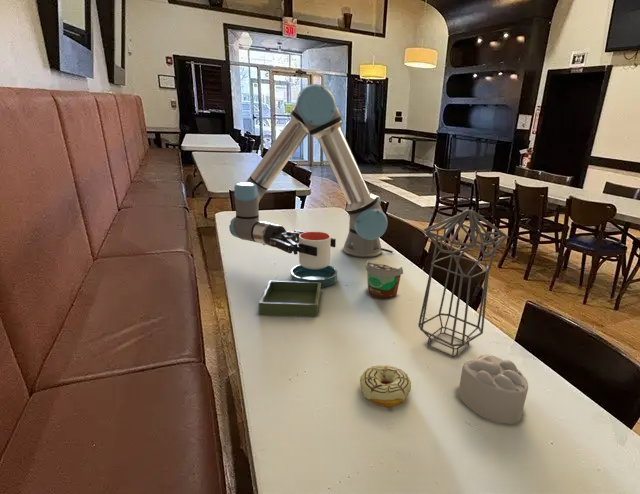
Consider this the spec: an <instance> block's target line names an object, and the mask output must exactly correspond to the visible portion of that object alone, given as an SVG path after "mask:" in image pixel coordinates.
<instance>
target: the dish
mask: <svg viewBox="0 0 640 494" xmlns="http://www.w3.org/2000/svg"><path fill="white" fill-rule="evenodd" d="M289 273H290V281H297V282H321V288H325V287H326V288H327V287H329V286H331V285H333V284H335V283H336V282H337V281H338V269H337V268H336V267H335V266H332V265H330V264H329V265H328V266H327V267H325V268H322V269H308V268H305V267H303V266H301V265H300V264H298V265H295V266H293V267H292V268H291V269H290V272H289Z"/></svg>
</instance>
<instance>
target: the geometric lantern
mask: <svg viewBox="0 0 640 494" xmlns="http://www.w3.org/2000/svg"><path fill="white" fill-rule="evenodd" d="M466 217H468V222H469V225H467V224H464V222H465V219H466ZM481 222H482V223H484V224H485V225H487V226H489V228H491V229H493V230H494V231H495V232H494V231H488V230H486V228H485V227H484V225H483V224H482V223H481ZM457 225H458V227H457V228H456V231H455V232H454V234H453V236H452V238H449V237H447V236H448V235H449V234H450V232H451V231H452V230H453V229H455V227H456V226H457ZM461 229H462V231H463V232H464V233H465V235H467V236H468V237H469V238H470V240H471V241H470V243H464V242H459V241H455V240H456V238H457V236H458V235H459V232H460V230H461ZM467 229H469V230H470V232H469V231H468V230H467ZM442 230H443V234H442V235H440V234H439V232H440V231H442ZM434 232H436V233H434ZM422 233H423V234H425V235H426V236H427V237H428V239H429V240H430V241H431V242H432V243H433V244H434V251H433V256H432V260H431V262H430V270H429V274H428V278H427V283H426V287H425V291H424V296H423V297H424V298H423V302H422V306H421V310H420V315H419V319H418V324H417V327H418V329H419V330H420V331H421V332H422V333H423V334H424V335H425V336H426V337H427V338H428V339H427V344H426V345H427V346H428V347H429V348H431V349H434V350H436V351H438V352H439V353H442V354H445V355H447V356H448V357H450V358H457V357H459V355H461V354H462V353H463V352H464V351H465V350H467V348H468V347H469V346H470V343H471V342H472V341H473V340H476V339H477V338H478V337H480V336H481V335H483V333H484V327H485V318H486V317H485V315H486V306H487V298H488V297H487V296H488V288H489V287H488V286H489V276H490V270H491V268H492V265H493V259H494V256H495V254H496V251H497V249H498V248H499V247H501V245H502V244H503V243H504V242H505V241H506V240H507V239H509V238H510V236H509V235H507V234H506V233H505V232H504V231H502V230H501V229H499V228H498V227H497V226H495V225H494V224H492V223H491V222H490V221H489V220H487V219H485V217H484V216H482V215H481V214H479V213H478V212H476V211H475V210H473V209H465V210H464V211H462V212H460V213H458V214H455V215H453V216H451V217H448V218H446V219H444V220H441V221H439V222H437V223H434V224H433V225H430V226H428V227H425V228H423V229H422ZM491 235H493V236H494V235H495V237H492V236H491ZM478 237H479V239H480V240H478ZM488 239H489V240H488ZM446 241H447V242H449V243H450V247H449V245H448V243H447V242H446ZM439 242H440V244H439ZM443 242H444V245H445V246H446V248H447V249H446V250H445V249H443ZM477 244H478V245H479V246H477ZM453 245H458V246H463V247H462V248H459V249H456V250H453ZM493 245H494V248H492V250H491V251H490V248H491V246H493ZM485 247H487V250H486V251H487V252H486V251H485ZM473 248H475V249H480V250H481V252H482V255H481V256H480V257H479V258H478V259H477V260H474V259H471V258H467V257H464V256H463V255H464V254H465V252H466V251H467V250H470V249H473ZM437 249H438V252H437ZM460 252H461V253H460ZM440 253H444V254H448V255H447V256H444V257H441V258H439V259H437V257H438V256H439V255H440ZM457 253H460V254H459V255H456V254H457ZM489 257H490V260H489V264H487V261H486V259H489ZM446 259H449V263H448V264H449V265H448V267H447V268H448V269H447V268H445V267H443V266H442V267H441V266H440V265H436V264H435V263H437V262H439V261H443V260H446ZM453 259H454V260H455V264H456V266H455V271H453V270H451V268H452V263H453ZM461 259H463V260H466V261H470V262H472V263H475V264H474V265H473V266H472V267H471V268H470V270H469V271H468V272H467V274H465V273H464V271H463V269H462V267H461V265H460V260H461ZM481 259H483V262H484V263H483V262H480V261H481ZM478 264H479V265H482V266H484V267H486V268H485V270H482V271H480V272H478V273H476V274H473V275H470V274H471V272H472V271H473V270H474V269H475V267H477V265H478ZM434 267H435V268H437V269H440V270H443V271H446V276H445V277H446V278H445V281H444V287H443V292H442V297H441V301H440V305H439V311H438V313H437V314H435V315H433V316H431V317H430V318H428V319H425V318H426V314H427V313H426V312H427V307H428V301H429V295H430V289H431V283H432V278H433V271H434ZM458 271H459V272H460V273H458ZM450 273H451V274H454V278H453V284H452V289H451V296H450V302H449V307H448V313H444V312H442V309H443V304H444V301H445V296H446V291H447V287H448V282H449V278H450ZM484 273H485V274H484ZM482 274H484V281H483V287H482V293H481V298H480V299H481V300H480V306H479V312H478V319H477V324H475V323H472V322H469V321H467V320H468V311H469V301H470V294H471V293H470V292H471V285H472V284H471V283H472V278H473V279H474V278H475V277H477V276H479V275H482ZM458 276H459V277H460V280H459V284H458V285H459V287H458V293H457V300H456V306H455V314H454V315H453V314H451V313H452V306H453V301H454V295H455V289H456V284H457V283H456V282H457V278H458ZM464 278H468V282H467V291H466V298H465V299H466V300H465V311H464V318H463V319H462V318H460V317H458V314H459V306H460V301H461V300H460V299H461V296H462V295H461V294H462V287H463V281H464ZM442 316H445V317H447V318H446V322H445V324H444V326H443V321H442ZM438 317H439V322H440V326H441V327H439V328H438V329H436V330H435V331H434V332H432V333H431V332H430V331H427V330H425V329H424V325H425V324H426V323H428V322H430V321H432V320H434V319H436V318H438ZM450 318H453V319H454V320H453V326H452V328H449V327H447V326H448V323H449V319H450ZM457 321H460V322H461V323H463V327H462V332H460V331H457V330H456V328H457V327H456V326H457ZM467 324H468V325H470V326H472V327H474V328H475V329H474V330H472V332H470V333H469V334H468V335H467V334H466V330H467V329H466V328H467ZM480 324H481V325H480ZM443 329H444V330H443ZM442 330H443V331H442ZM447 330H448V331H450V332H451V334H450V333H447V332H446V331H447ZM477 330H478V331H479V332H478V333H477V334H475V335H473V334H474V333H475V332H476V331H477ZM438 332H439V333H438ZM437 333H438V334H437ZM435 334H437V335H435ZM455 334H459V335H462V338H460V337H457V336H455ZM441 335H446V336H449V337H450V338H451V339H450V342H449V341H448V340H445V339H443V338H441V337H440V336H441ZM472 335H473V336H472ZM432 337H433V338H432ZM465 338H466V339H465ZM455 339H456V340H458V341H460V342H461V343H454V340H455ZM432 342H435V343H437V344H440V345H443V346H444V347H447V348H449V349H451V350H452V353H448V352H446V351H444V350H441V349H439V348H437V347H435V346H432ZM462 347H464V348H463V349H462V350H460V351H459V349H461V348H462ZM455 351H456V353H455Z"/></svg>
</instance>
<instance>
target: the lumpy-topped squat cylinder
mask: <svg viewBox="0 0 640 494" xmlns="http://www.w3.org/2000/svg"><path fill="white" fill-rule="evenodd" d="M457 391H458V392H457V395H458V398H459V400H460V401H461V402H462V403H463V404H465V405H466V406H467V408H469V409H470V410H472V411H473V412H474V413H476V414H477V415H479V416H480V417H482V418H484V419H486V420H489V421H492V422H495V423H499V424H507V425H512V424H516V423H519V422H520V421H521V419H522V415H523V411H524V407H525V403H526V399H527V395H528V391H529V383H528V379H527V378H526V376H525V375H524V374H523V373H522V371H521V370H519V369H518V367H517V365H516V364H515V363H514V362H513V361H512V360H509V359H502V358H500V357H498V356H496V355H493V354H481V355H479V356H477V357H475V358H473V359H469V360H466V361H465V362H463V364H462V369H461V374H460V379H459V386H458V390H457Z"/></svg>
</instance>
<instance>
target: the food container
mask: <svg viewBox="0 0 640 494" xmlns="http://www.w3.org/2000/svg"><path fill="white" fill-rule="evenodd" d="M364 269H365V271H366V272H367V273H366V274H367V275H366V276H367V294H368V295H369V296H371V297H372V298H375V299H379V300H389V299H393V298H395V297H397V296H398V290H399V285H400V281H401V275H403V274H404V268H403V266H401V267H399V268H396V267H393V266H390V265H387V264H378V263H373V262H370V259H368V260H367V262H366V263H365V267H364Z"/></svg>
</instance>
